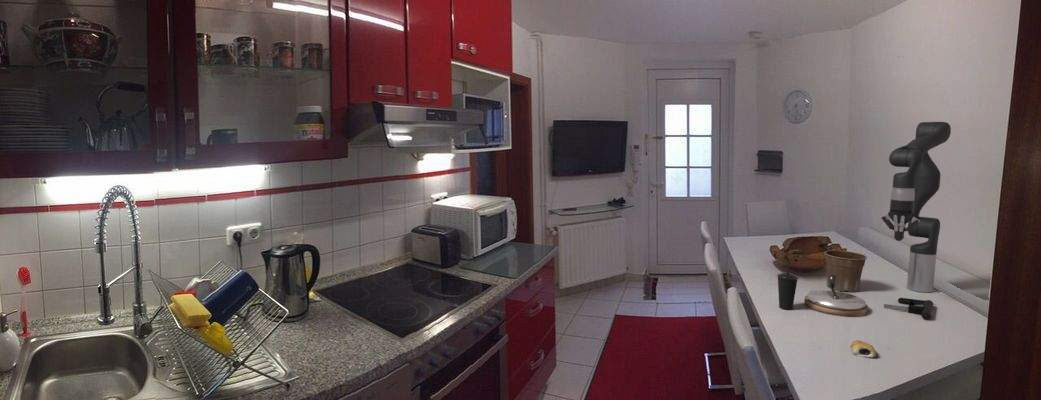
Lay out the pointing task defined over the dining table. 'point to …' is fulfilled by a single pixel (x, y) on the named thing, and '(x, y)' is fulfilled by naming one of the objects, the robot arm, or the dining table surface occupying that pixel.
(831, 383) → the dining table surface
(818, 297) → the dial
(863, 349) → the pastry
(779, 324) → the dining table surface
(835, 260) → the plant pot
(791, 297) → the drinking cup
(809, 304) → the dial base
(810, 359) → the dining table surface
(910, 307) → the door handle
